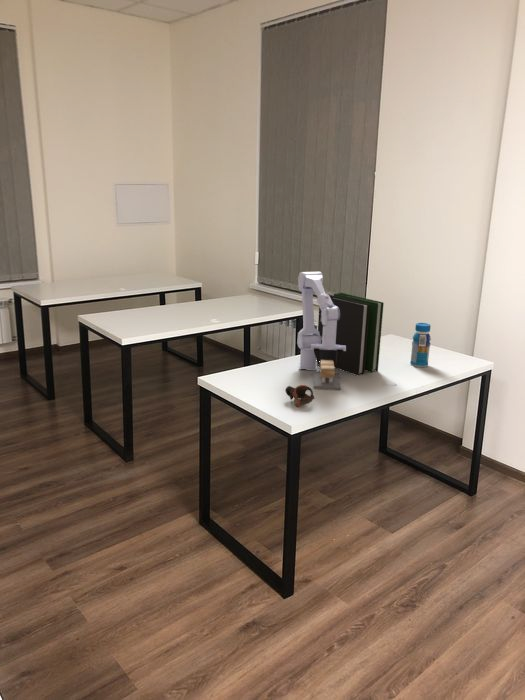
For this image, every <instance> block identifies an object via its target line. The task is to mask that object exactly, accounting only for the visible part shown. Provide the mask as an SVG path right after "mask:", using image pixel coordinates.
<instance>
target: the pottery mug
mask: <svg viewBox="0 0 525 700" xmlns="http://www.w3.org/2000/svg"><path fill="white" fill-rule="evenodd" d="M308 391H309V392H310V395H309V394H307V392H308ZM284 392H285V393H286V395H287V396H288V398H290V401H292V400H293V399H294V401H295V402H294V406H295V407H297V408H299V407H300V406H304V405H308V404H310V403H312V401H313V400H315V396H314V391H313V389H312V388H311V387H310V386H308V385H305V384H300V385H297V386H296V387H293V386H290V385H289V386H287V387H286V388H285V391H284Z"/></svg>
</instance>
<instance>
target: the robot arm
mask: <svg viewBox="0 0 525 700" xmlns="http://www.w3.org/2000/svg"><path fill="white" fill-rule="evenodd" d="M323 282H324V276H323V273H322V272H321V271H301V272H299V274H298V276H297V283H298V285H297V287H298V291H299V292H301V303H302V305H301V306H302V322H303V323H302V325H303V328H301V329H300V330H299V332H297V339H296V340H297V342H296V344H297V347H298V348H299V349H300V356H299V357H300V362H299V364H298V365H299V366H298V369H299V370H301V369H306V370H305V371H317V370H318V369H317V368H318V367H320V362H319V355H320V349H321V350H337V356H336V367H337V366H338V363H339V360H340V358H341V356H342V355H343V351H346V346H345V345H336V329H337V320H339V318H340V310H339V308H338V307H337V306H336V305H334V304H333V302H332V300H331V298H330V296H329V295H330V294H328V293H326V292H325V288H324V285H323ZM314 293H315V295H316V296H317V299H316V303H317V304H318V307H320V309H321V311H322V312H321V317H322V324H323V334H322V344H321V337H320V333H319V331H318V328H315V315H314V311H315V310H314V295H313V294H314ZM316 359H317V361H316Z"/></svg>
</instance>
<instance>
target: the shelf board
mask: <svg viewBox="0 0 525 700" xmlns="http://www.w3.org/2000/svg"><path fill="white" fill-rule="evenodd" d="M319 369H320V371H319V372H321V377H326V378H334V374H335V371H336V370H335V369H336V368H334V362H333V360H321V362H319Z"/></svg>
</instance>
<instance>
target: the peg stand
mask: <svg viewBox="0 0 525 700" xmlns="http://www.w3.org/2000/svg"><path fill="white" fill-rule="evenodd" d="M312 375H313V376H314V377H313V389H314V390H328V389H330V390H332V391H341V389H342V386H341V380H340V374H339V372H338V371H337V372H335V374H334V378H326V377H321V371H317V370H313V374H312Z"/></svg>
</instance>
